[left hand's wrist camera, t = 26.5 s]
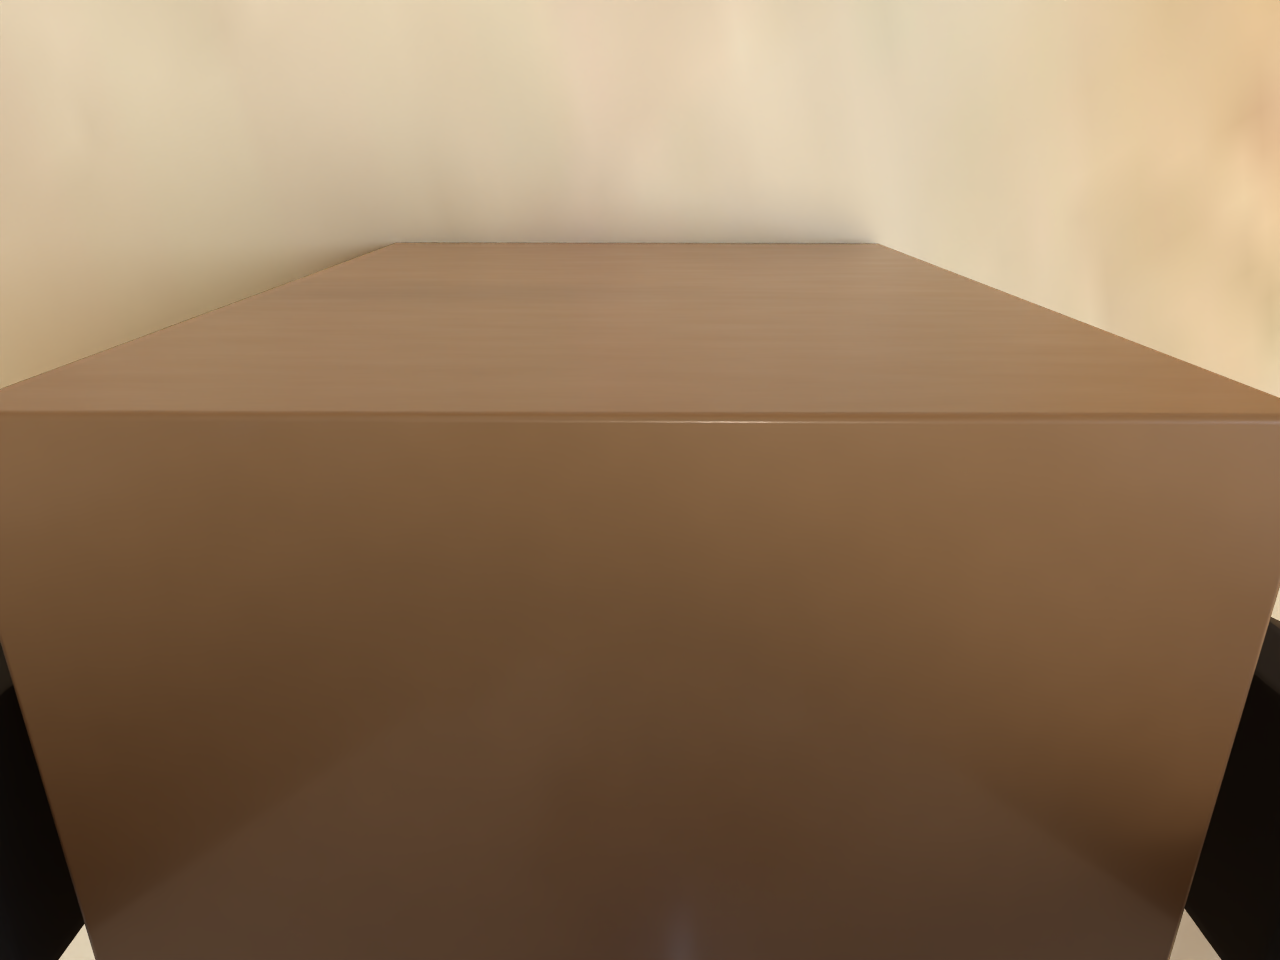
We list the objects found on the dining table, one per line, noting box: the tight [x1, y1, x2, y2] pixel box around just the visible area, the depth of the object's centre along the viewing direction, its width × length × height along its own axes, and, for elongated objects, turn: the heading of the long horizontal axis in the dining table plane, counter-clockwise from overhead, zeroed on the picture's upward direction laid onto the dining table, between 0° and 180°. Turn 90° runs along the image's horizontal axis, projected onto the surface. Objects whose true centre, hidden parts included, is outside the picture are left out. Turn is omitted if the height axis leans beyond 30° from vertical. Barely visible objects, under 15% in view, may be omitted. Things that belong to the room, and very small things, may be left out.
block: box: [0, 243, 1280, 960], centre depth 11 cm, size 8×8×10 cm
